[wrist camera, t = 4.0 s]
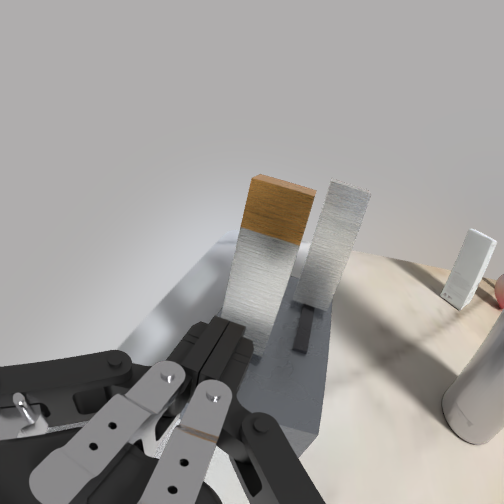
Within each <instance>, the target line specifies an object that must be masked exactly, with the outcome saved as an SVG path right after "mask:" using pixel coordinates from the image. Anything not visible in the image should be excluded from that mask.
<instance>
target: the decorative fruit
mask: <svg viewBox="0 0 504 504" xmlns="http://www.w3.org/2000/svg"><path fill="white" fill-rule="evenodd" d="M495 296H496V298H497V301H498V303H499V306H500V308H501V309H504V274H503V275H501V276H500V277H499V278H498V280H497V282H496V284H495Z"/></svg>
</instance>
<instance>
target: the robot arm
mask: <svg viewBox="0 0 504 504" xmlns="http://www.w3.org/2000/svg"><path fill="white" fill-rule="evenodd" d="M245 330H246V326H243V325H240V324H238V323H235V322H232V321H231V322H230V321H229V320H227V319H224V318H221V317H219V316H216V315H215V316H214V317H213V319H212V320H211V322H210V323H209V324H206V323H204V322H199V323H197V324H195V325H193V326H192V327H191V328H190V329H189V331H188V332H187V334H186V335H185V336H184V337H183V339H182V340H181V341H180V343H179V344H178V345H177V346H176V348H175V349H174V350H173V352H172V353H171V354H170V356H169V357H168V358H167V359H166V361H160V362H157V363H156V364H154V365H153V366H143V365H139V364H134V363H132V361H131V358H130V357H129V356H128V355H127V354H126V353H125V352H122V351H119V350H110V351H104V352H99V353H93V354H88V355H82V356H76V357H70V358H64V359H57V360H50V361H44V362H37V363H29V364H22V365H13V366H4V367H0V504H222V502H221V500H220V498H219V496H218V495H217V494H216V492H215V491H214V490H213V489H212V488H211V487H210V486H209V485H208V484H206V483H205V482H204V479H205V476H206V473H207V470H208V467H209V465H210V462H211V459H212V456H213V453H214V450H215V447H216V446H218V447H219V448H220V449H222V450H223V451H224V452H226V453H227V454H228V455H229V458H230V461H231V463H232V465H233V468H234V470H235V472H236V474H237V477H238V479H239V481H240V483H241V485H242V487H243V490H244V492H245V494H246V496H247V498H248V500H249V502H250V504H326V503H325V502H324V500H323V498H322V497H321V495H320V494H319V492H318V490H317V489H316V487H315V486H314V484H313V482H312V481H311V479H310V477H309V476H308V474H307V472H306V471H305V469H304V467H303V466H302V464H301V462H300V461H299V459H298V457H297V455H296V454H295V452H294V450H293V448H292V447H291V445H290V443H289V441H288V440H287V438H286V436H285V434H284V433H283V431H282V429H281V427H280V425H279V424H278V422H277V421H276V419H275V418H273V417H272V416H271V415H269V414H266V413H263V412H254V413H251V412H250V411H248V410H247V409H245V408H244V407H243V406H242V405H241V404H240V403H239V401H238V399H237V393H238V391H239V388H240V386H241V384H242V381H243V379H244V377H245V374H246V372H247V369H248V367H249V364H250V361H251V358H252V355H253V352H254V345H253V341H252V340H249V339H247V338H244V333H245ZM186 403H189V405H188V407H187V409H186V411H185V413H184V416H183V418H182V420H181V422H180V424H179V425H177V426H176V427H175V428H174V430H173V432H172V434H171V436H170V438H169V440H168V443H167V445H166V447H165V449H164V451H163V453H162V455H161V457H160V459H157V458H154V456H155V454H156V451H157V448H158V446H159V445H160V443H161V442H162V441H163V439H164V438H165V436H166V435H167V434H168V432H169V431H170V430H171V428H172V427H173V426H174V424H175V423H176V422H177V420H178V419H179V417H180V416H181V413H182V410H183V409H184V407H185V405H186ZM442 407H443V412H444V415H445V418H446V420H447V422H448V424H449V425H450V427H451V428H452V429H453V431H454V432H455V433H456V434H457V435H458V436H459V437H461V438H462V439H463V440H465V441H467V442H469V443H472V444H484V443H487V442H488V441H489V440H491V439H492V438H493V437H494V436H495V435H496V434H497V433H498V432H499V431H500V430H501V429H502V428H503V427H504V309H503V311H502V313H501V314H500V316H499V318H498V319H497V321H496V323H495V324H494V326H493V328H492V329H491V331H490V332H489V334H488V336H487V337H486V339H485V340H484V342H483V343H482V345H481V346H480V348H479V349H478V351H477V352H476V353H475V355H474V356H473V358H472V359H471V360H470V362H469V363H468V364H467V366H466V367H465V368H464V370H463V371H462V372H461V374H460V375H459V376H458V377H457V379H456V380H455V381H454V382H453V384H452V385H451V386H450V387H449V388H448V390H447V391H446V392H445V394H444V396H443V399H442ZM88 420H90V421H89V422H88V423H87V424H86V425H85V426H84V427H77V428H72V429H67V430H62V431H57V432H52V433H46V431H47V429H48V427H54V426H61V425H67V424H72V423H78V422H83V421H88Z"/></svg>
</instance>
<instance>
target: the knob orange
mask: <svg viewBox="0 0 504 504" xmlns="http://www.w3.org/2000/svg"><path fill="white" fill-rule="evenodd" d="M315 194H316V190H313V189H310V188H307V187H303V186H300V185H296V184H293V183H290V182H287V181H283V180H280V179H276V178H273V177H269V176H265V175H262V174H259V175H257V176H255V177H253V178H252V179H251V184H250V188H249V192H248V197H247V201H246V205H245V210H244V214H243V219H242V223H241V227H240V232H239V236H238V241H237V245H236V250H235V254H234V259H233V263H232V268H231V272H230V277H229V281H228V286H227V290H226V295H225V300H224V304H223V309H222V314H221V318H224V319H227V320H229V321H230V322H231V321H232V322H235V323H238V324H240V325H243V326H246V330H245V333H244V338H247V339H249V340H252V341H253V345H254V352H253V354H256V355H259V356H262V355H263V352H264V350H265V347H266V344H267V342H268V339H269V336H270V333H271V331H272V328H273V325H274V322H275V319H276V316H277V313H278V310H279V308H280V305H281V302H282V299H283V296H284V293H285V290H286V287H287V284H288V281H289V278H290V275H291V272H292V268H293V265H294V262H295V259H296V256H297V253H298V250H299V247H300V243H301V240H302V237H303V234H304V231H305V227H306V224H307V221H308V217H309V214H310V211H311V207H312V204H313V201H314V197H315Z"/></svg>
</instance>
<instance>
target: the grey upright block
mask: <svg viewBox="0 0 504 504" xmlns="http://www.w3.org/2000/svg"><path fill="white" fill-rule="evenodd" d="M370 197H371V193H370V192H369V191H368V190H365V189H362V188H359V187H356V186H354V185H350V184H347V183H345V182H342V181H339V180H335V179H332V178H331V181H330V184H329V188H328V191H327V194H326V198H325V201H324V204H323V208H322V211H321V215H320V218H319V221H318V224H317V227H316V230H315V233H314V236H313V239H312V242H311V245H310V248H309V251H308V254H307V257H306V260H305V263H304V266H303V269H302V272H301V275H300V278H299V281H298V284H297V287H296V289H295V293H294V296H293V300H294V301H297V302H300V303H303V304H306V305H309V306H312V307H316V308H319V309H322V310H325V311H327V310H328V307H329V305H330V303H331V300H332V298H333V296H334V293H335V291H336V288H337V286H338V284H339V281H340V279H341V276H342V274H343V271H344V269H345V266H346V264H347V261H348V258H349V256H350V253H351V251H352V248H353V245H354V243H355V239H356V237H357V234H358V232H359V229H360V226H361V223H362V220H363V217H364V214H365V212H366V209H367V205H368V203H369V200H370Z"/></svg>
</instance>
